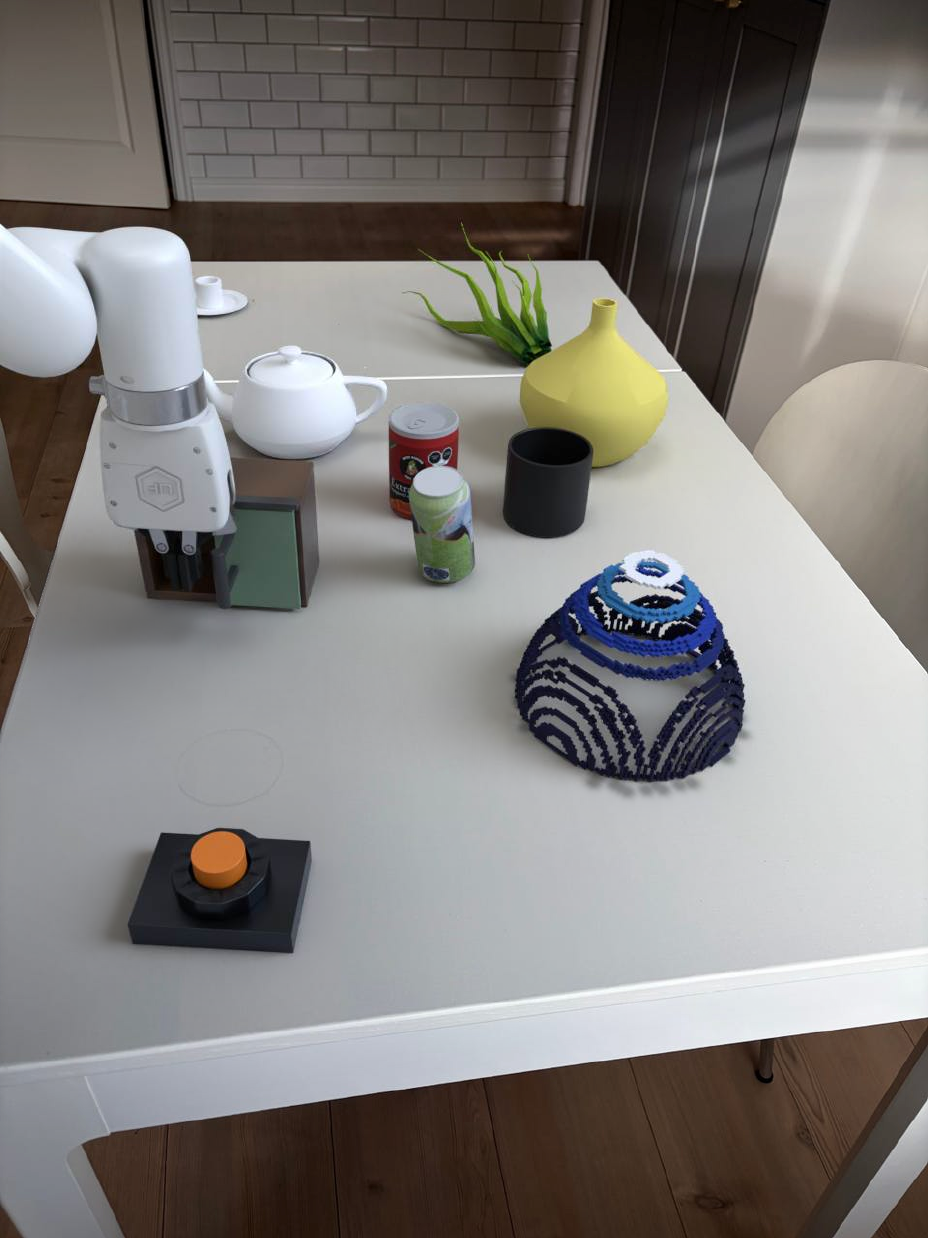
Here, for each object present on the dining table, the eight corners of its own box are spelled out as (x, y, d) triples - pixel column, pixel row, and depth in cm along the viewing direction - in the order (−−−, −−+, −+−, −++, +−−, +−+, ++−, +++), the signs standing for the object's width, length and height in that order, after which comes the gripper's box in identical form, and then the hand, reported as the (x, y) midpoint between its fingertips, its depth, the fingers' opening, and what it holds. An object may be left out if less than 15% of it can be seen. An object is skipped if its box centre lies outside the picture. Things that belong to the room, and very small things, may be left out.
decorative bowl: (784, 705, 90) (826, 574, 81) (650, 819, 78) (682, 682, 69) (612, 605, 101) (632, 481, 92) (472, 692, 89) (480, 560, 80)
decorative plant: (505, 300, 170) (511, 211, 161) (553, 370, 147) (564, 270, 138) (401, 303, 166) (402, 212, 158) (434, 375, 143) (437, 273, 135)
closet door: (210, 638, 93) (195, 539, 86) (224, 601, 98) (211, 504, 91) (290, 642, 93) (282, 543, 86) (301, 605, 98) (294, 508, 91)
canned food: (379, 514, 113) (378, 426, 106) (403, 482, 119) (403, 397, 112) (443, 527, 111) (446, 439, 104) (464, 493, 117) (468, 408, 111)
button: (187, 888, 67) (184, 871, 66) (201, 846, 70) (198, 829, 69) (241, 891, 67) (238, 874, 66) (252, 849, 70) (249, 832, 69)
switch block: (132, 944, 67) (122, 908, 65) (164, 851, 74) (157, 815, 71) (293, 954, 67) (289, 918, 65) (312, 860, 74) (309, 824, 71)
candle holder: (174, 293, 166) (171, 267, 163) (247, 292, 168) (245, 266, 165) (171, 320, 156) (167, 293, 154) (248, 318, 158) (246, 291, 156)
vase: (669, 486, 121) (698, 334, 109) (519, 481, 120) (532, 328, 108) (646, 419, 135) (669, 279, 124) (512, 414, 135) (523, 273, 123)
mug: (579, 486, 120) (588, 418, 114) (587, 540, 110) (597, 468, 105) (501, 483, 120) (506, 414, 114) (503, 537, 110) (508, 464, 105)
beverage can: (484, 567, 105) (491, 467, 98) (448, 601, 100) (452, 499, 93) (434, 549, 108) (437, 450, 100) (397, 581, 103) (396, 479, 95)
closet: (142, 606, 97) (121, 494, 90) (168, 553, 105) (150, 446, 97) (304, 615, 97) (296, 504, 90) (319, 562, 105) (313, 455, 97)
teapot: (389, 414, 133) (388, 326, 126) (386, 471, 121) (385, 377, 113) (200, 411, 132) (188, 321, 124) (178, 468, 119) (164, 372, 112)
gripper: (46, 409, 76) (89, 602, 87) (241, 421, 76) (259, 612, 87) (80, 369, 82) (116, 554, 93) (260, 380, 82) (275, 564, 93)
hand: (185, 582), depth 90 cm, fingers closed
